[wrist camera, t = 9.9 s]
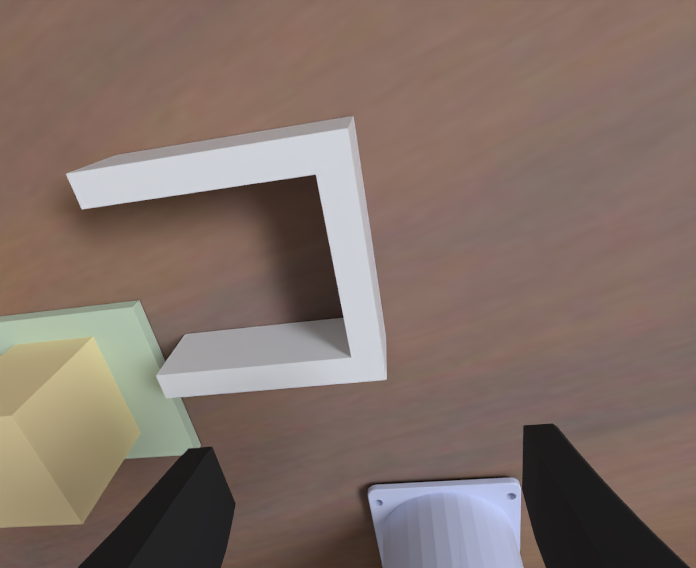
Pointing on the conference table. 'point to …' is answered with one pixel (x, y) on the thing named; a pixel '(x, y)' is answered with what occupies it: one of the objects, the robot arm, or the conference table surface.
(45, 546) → the conference table surface
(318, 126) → the frame
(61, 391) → the block
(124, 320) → the mat
